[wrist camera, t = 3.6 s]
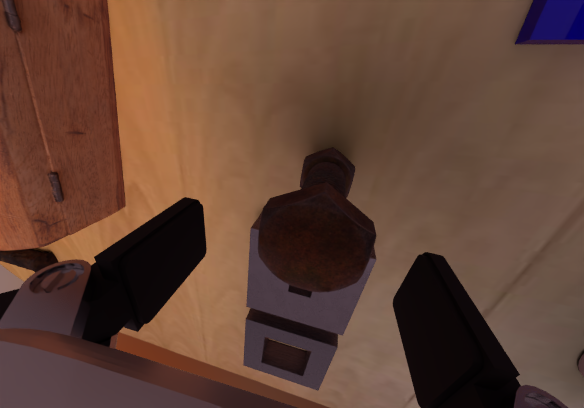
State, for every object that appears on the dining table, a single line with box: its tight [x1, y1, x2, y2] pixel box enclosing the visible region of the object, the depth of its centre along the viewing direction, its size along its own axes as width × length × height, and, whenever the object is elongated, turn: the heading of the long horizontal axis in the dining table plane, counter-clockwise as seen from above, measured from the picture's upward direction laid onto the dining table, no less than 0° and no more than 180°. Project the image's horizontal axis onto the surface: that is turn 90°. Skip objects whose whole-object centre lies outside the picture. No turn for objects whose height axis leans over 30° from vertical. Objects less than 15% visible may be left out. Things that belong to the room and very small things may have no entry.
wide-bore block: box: [244, 308, 338, 390], centre depth 36 cm, size 14×14×4 cm
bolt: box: [258, 147, 376, 293], centre depth 16 cm, size 6×5×15 cm
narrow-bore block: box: [247, 213, 376, 335], centre depth 28 cm, size 14×14×4 cm
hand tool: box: [0, 249, 58, 272], centre depth 43 cm, size 19×4×5 cm, turn 81°
